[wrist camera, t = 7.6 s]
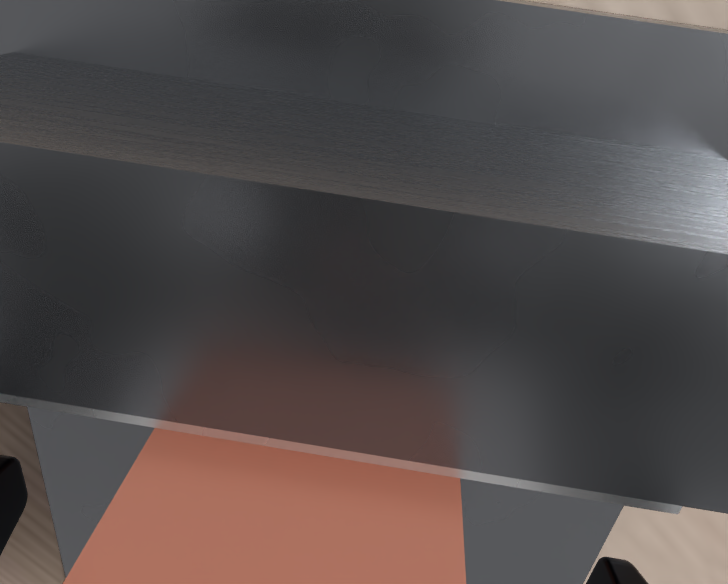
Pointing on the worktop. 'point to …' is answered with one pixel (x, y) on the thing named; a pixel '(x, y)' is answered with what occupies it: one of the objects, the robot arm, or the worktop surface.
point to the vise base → (373, 252)
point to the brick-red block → (272, 520)
